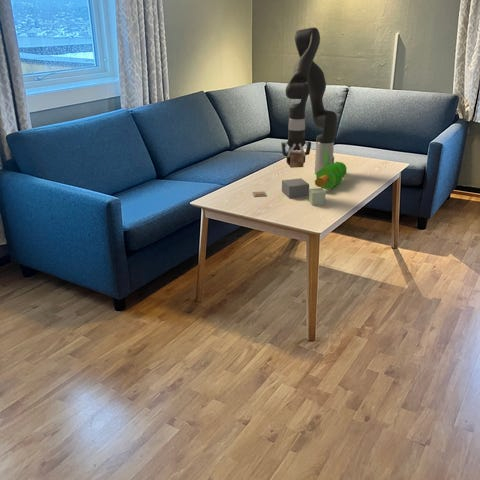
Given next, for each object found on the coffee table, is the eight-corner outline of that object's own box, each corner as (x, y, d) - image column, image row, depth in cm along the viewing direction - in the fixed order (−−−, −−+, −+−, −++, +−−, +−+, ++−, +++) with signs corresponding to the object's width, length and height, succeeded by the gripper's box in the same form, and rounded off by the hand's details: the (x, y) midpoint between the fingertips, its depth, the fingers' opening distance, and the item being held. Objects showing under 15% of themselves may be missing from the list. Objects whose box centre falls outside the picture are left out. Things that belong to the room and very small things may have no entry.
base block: (301, 190, 259) (301, 178, 256) (308, 196, 250) (309, 184, 247) (281, 192, 256) (281, 180, 254) (289, 198, 247) (289, 186, 245)
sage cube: (321, 200, 244) (322, 188, 242) (325, 204, 239) (325, 192, 236) (308, 201, 243) (309, 188, 241) (312, 205, 238) (312, 193, 235)
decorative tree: (314, 167, 251) (340, 150, 273) (306, 186, 257) (332, 169, 280) (334, 179, 247) (359, 161, 269) (325, 198, 254) (350, 179, 276)
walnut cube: (300, 163, 250) (300, 151, 248) (303, 167, 245) (303, 154, 242) (288, 164, 250) (288, 151, 247) (290, 167, 244) (291, 155, 242)
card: (264, 192, 256) (264, 190, 256) (266, 196, 251) (266, 194, 250) (252, 192, 255) (252, 191, 255) (254, 196, 250) (254, 195, 250)
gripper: (310, 125, 244) (308, 161, 251) (279, 127, 243) (279, 162, 250) (314, 129, 238) (312, 165, 244) (282, 130, 236) (282, 167, 243)
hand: (295, 163), depth 247 cm, fingers closed on walnut cube, 6 cm apart
